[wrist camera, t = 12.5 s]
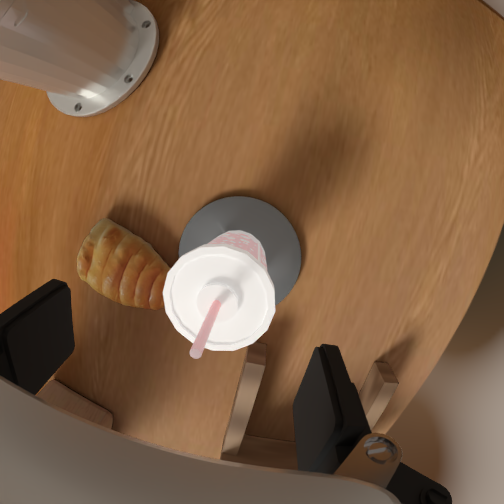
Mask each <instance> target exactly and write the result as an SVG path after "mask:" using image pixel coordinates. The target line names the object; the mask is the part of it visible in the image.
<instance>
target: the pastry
mask: <svg viewBox="0 0 504 504" xmlns="http://www.w3.org/2000/svg"><path fill="white" fill-rule="evenodd" d="M170 269H171V268H170V267H169V266H168V265H167V263H166V262H164V261H163V260H162V258H161V257H160V255H159V254H158V253H156V252H155V251H154V249H153V247H152V246H151V244H150V243H148V242H145V241H144V240H143V239H142V238H140V237H139V236H137V235H134V234H133V233H131V232H130V231H129V230H127V229H125V228H124V227H122V226H120V225H118V224H116V223H114V222H113V221H111V220H110V219H108V218H103V219H101V220H100V221H99V222H98V223H97V224H96V225H95V226H94V227H93V228H92V230H91V232H90V234H89V235H88V236H87V237H86V238H85V240H84V241H83V244H82V246H81V249H80V251H79V254H78V257H77V272H78V274H79V276H80V278H81V280H83V281H86V282H87V283H88V284H89V285H90V286H91V287H92V288H93V289H95V290H96V291H97V292H98V293H100V294H101V295H103V296H106V297H107V298H109V299H111V300H113V301H114V302H118V303H121V304H123V305H126V306H132V307H135V308H136V307H141V308H145V309H151V310H159V309H161V308H163V307H165V304H164V298H163V289H164V285H165V281H166V277H167V273H168V272H169V271H170Z"/></svg>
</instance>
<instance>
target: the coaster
mask: <svg viewBox="0 0 504 504" xmlns="http://www.w3.org/2000/svg"><path fill="white" fill-rule="evenodd" d="M235 230H241V231H244V232H247V233H250V234H252V235H253V236H254V237H255V238H256V239H257V240H259V241H260V243H261V245H262V247H263V249H264V251H265V257H266V264H267V272H268V274H269V276H270V278H271V280H272V282H273V284H274V290H275V305H277V304H278V303H279V302H281V301H282V300H283V299H284V298H285V297H286V296H287V295H288V294H289V292H290V291H291V289H292V288H293V286H294V284H295V282H296V280H297V278H298V275H299V271H300V266H301V249H300V244H299V240H298V238H297V235H296V232H295V230H294V229H293V227H292V225H291V223H290V222H289V221H288V219H287V218H286V217H285V216H284V215H283V214H282V213H281V212H280V211H279V210H278V209H276V208H275V207H273V206H272V205H270V204H268V203H267V202H264V201H262V200H259V199H256V198H252V197H246V196H232V197H226V198H222V199H219V200H216V201H214V202H212V203H210V204H208V205H206V206H205V207H203V208H202V209H201V210H199V211H198V212H197V213H196V214H195V215H194V216H193V217H192V218H191V220H190V221H189V223H188V224H187V226H186V228H185V229H184V231H183V234H182V237H181V240H180V245H179V258H180V257H181V256H182V255H184V254H186V253H188V252H190V251H192V250H194V249H196V248H198V247H200V246H202V245H204V244H208V243H209V242H211V241H212V240H214V239H215V238H216V237H218V236H219V235H222V234H224V233H226V232H228V231H235Z"/></svg>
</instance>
